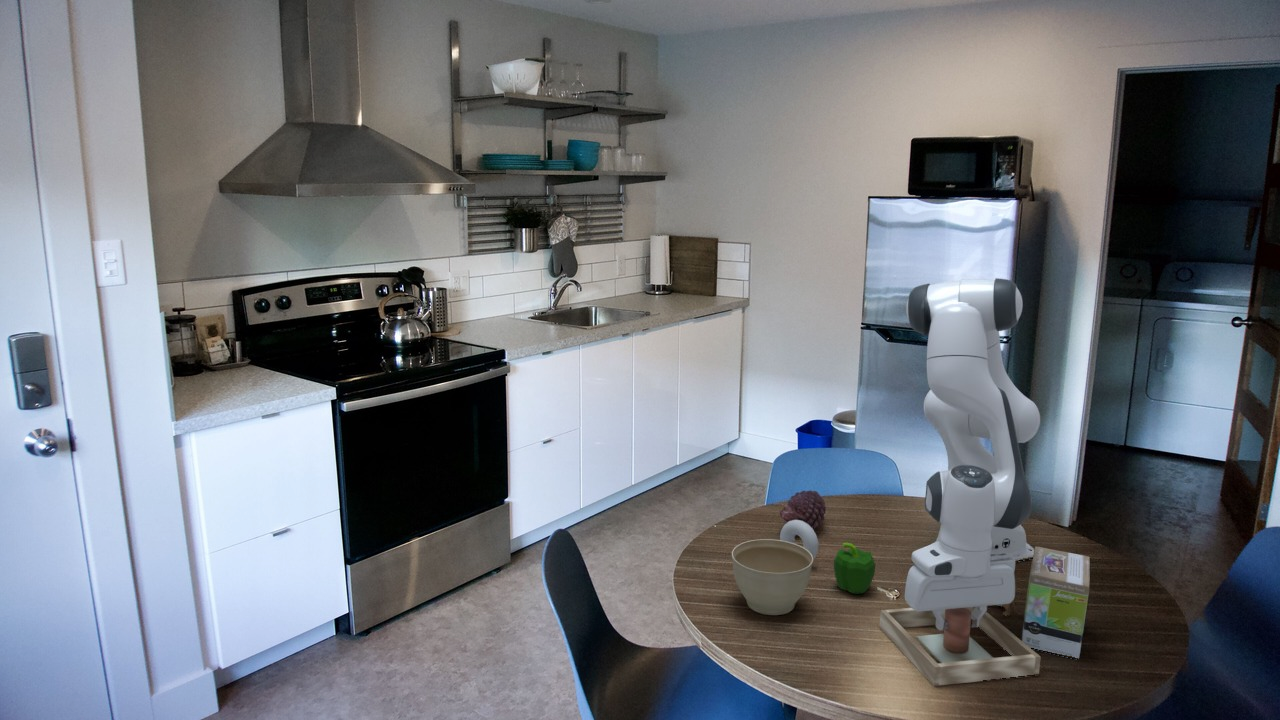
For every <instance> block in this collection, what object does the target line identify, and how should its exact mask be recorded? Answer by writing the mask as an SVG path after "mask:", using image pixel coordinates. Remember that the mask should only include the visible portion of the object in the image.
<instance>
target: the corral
mask: <svg viewBox="0 0 1280 720" xmlns="http://www.w3.org/2000/svg"><path fill="white" fill-rule="evenodd" d="M974 608H975V607H966V609H968V610H969V611H970V612H971V614H972V612H973V610H974ZM941 616H942V617H944V618H945V609H944V614H941ZM927 626H928V627H929V626H936V618H935V616H934V614H933V612H932V611H921V612H917V611H915V610H914V609H912V608H911V607H907V608H904V607H903V608H895V609H894V608H893V609H892V608H891V609H882V610H880V615H879V629H881V631H882V632H883V633H884V634H885V635H886V636H887V637H888V638H889V639H890V640H891V641H892V643H893V644H894V645H895V646H896V647H897V648H898V649H899V650H900V651H901V652H902V653H903V654H904V656H905V657H906V658H907V659H908V660H909V661H910V663H912V664H913V666H914V667H915V668H916V669H918V671H919V672H920V673H921V675H923V676H924V677H925V678H926V679H927V680H928V682H929V683H930V684H931V685H932V686H933V687H937V686H946V685H947V686H949V685H956V684H965V683H976V682H984V681H983V680H987V681H992V680H991V679H996V680H1003V679H1002V678H1006V679H1011V678H1010V677H1016V678H1019V677H1018V676H1025V677H1028V676H1027V675H1034V674H1040V667H1041V658H1042V657H1041V656H1040V655H1039V654H1038V653H1037V652H1035V650H1034V649H1031V648H1030V647H1028V646H1027V645H1026V644H1025V643H1024V642H1022V639H1020V638H1018V637H1017V635H1015V634H1014V633H1012V631H1011V630H1009V629H1008V628H1007V627H1006V626H1004V625H1003V624H1002V623H1000V622H999V620H997V619H996V618H995V617H993V616H992V615H991V614H990V613H988V612H987V611H986V612H985V613H984V615H983V616H982V617H981V619H980V622H979V629H980V630H981V629H982V630H983V631H984V632H985V633H986V634H988V635H989V636H990V637H991V638H992V639H994V640H995V641H996V642H997V643H998V644H999V645H1000V646H1001V647H1003V649H1002V650H1003V651H1005V650H1006V651H1007V652H1008V653H1009V654H1010V655H1012V656H1010V655H1009V654H1008V653H1007V652H1006V651H1005V652H1006V653H1007V654H1008V655H1009V656H1001V657H993V656H992V655H991V654H990V653H989V652H988V651H987V650H986V649H984V647H982V646H981V645H980V644H979V643H978V642H976V640H975V639H973V638H972V637H971V636H969V649H968V651H967V652H965V653H954V652H951V651H949V650H947V649H945V648H944V646H943V638H944V633H939V634H938V633H936V634H928V635H927V634H926V635H916V637H915V638H916V640H917V641H916V640H915V639H914V638H913V636H912V635H910V633H909V632H908V631H907V630H906V629H905V628H915V627H916V628H917V627H927ZM982 630H981V631H982ZM983 631H982V632H983ZM984 632H983V633H984ZM985 633H984V634H985ZM986 634H985V635H986ZM988 635H987V636H988ZM989 636H988V637H989ZM990 637H989V638H990ZM991 638H990V639H991ZM992 639H991V640H992ZM918 642H920V644H921V645H922V646H923V647H924V648H925V649H926V650H927V651H928V652H929V653H930V654H931V655H932V656H933V657H934V658H935V659H936V660H937V661H936V660H935V659H934V658H933V657H932V656H931V655H930V654H929V653H928V652H927V651H926V650H925V649H924V648H923V647H922V646H921V645H920V644H919V643H918ZM996 642H995V643H996ZM997 643H996V644H997ZM998 644H997V645H998ZM999 645H998V646H999ZM1000 646H999V647H1000ZM1001 647H1000V648H1001ZM938 662H939V663H938ZM1000 678H1001V679H1000Z"/></svg>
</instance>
